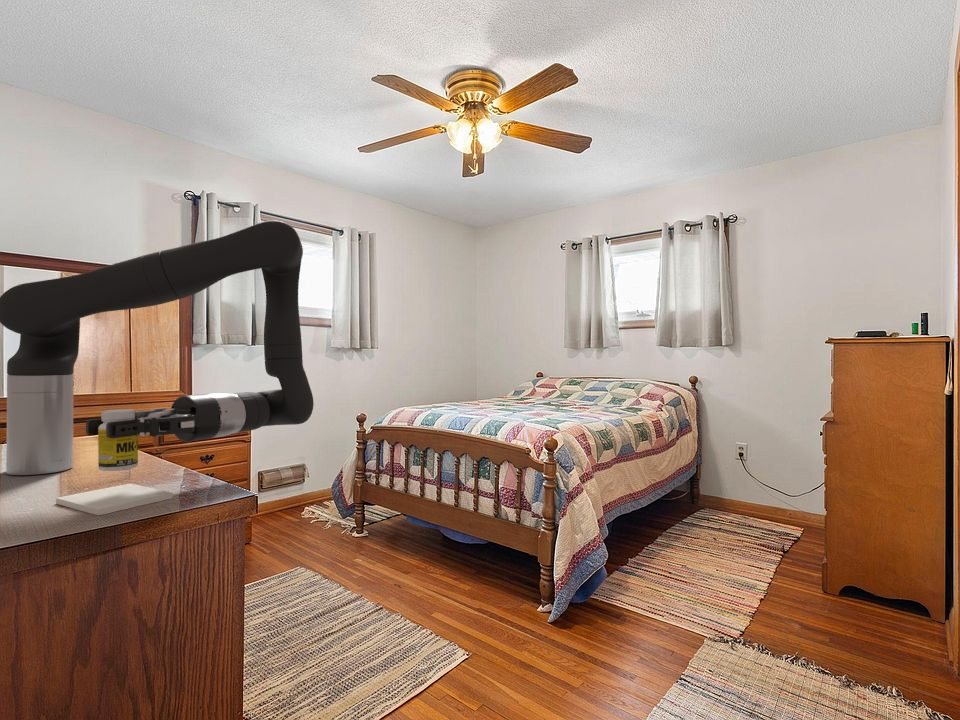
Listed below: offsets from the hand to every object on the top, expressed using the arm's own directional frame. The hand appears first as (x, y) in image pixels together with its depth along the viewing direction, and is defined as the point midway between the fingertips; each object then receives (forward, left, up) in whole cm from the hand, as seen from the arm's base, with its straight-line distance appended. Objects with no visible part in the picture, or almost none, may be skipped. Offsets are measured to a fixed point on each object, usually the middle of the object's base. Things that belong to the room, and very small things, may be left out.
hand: (97, 429), depth 74 cm
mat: (0, +2, -11) cm, 11 cm away
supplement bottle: (0, +3, -6) cm, 7 cm away
